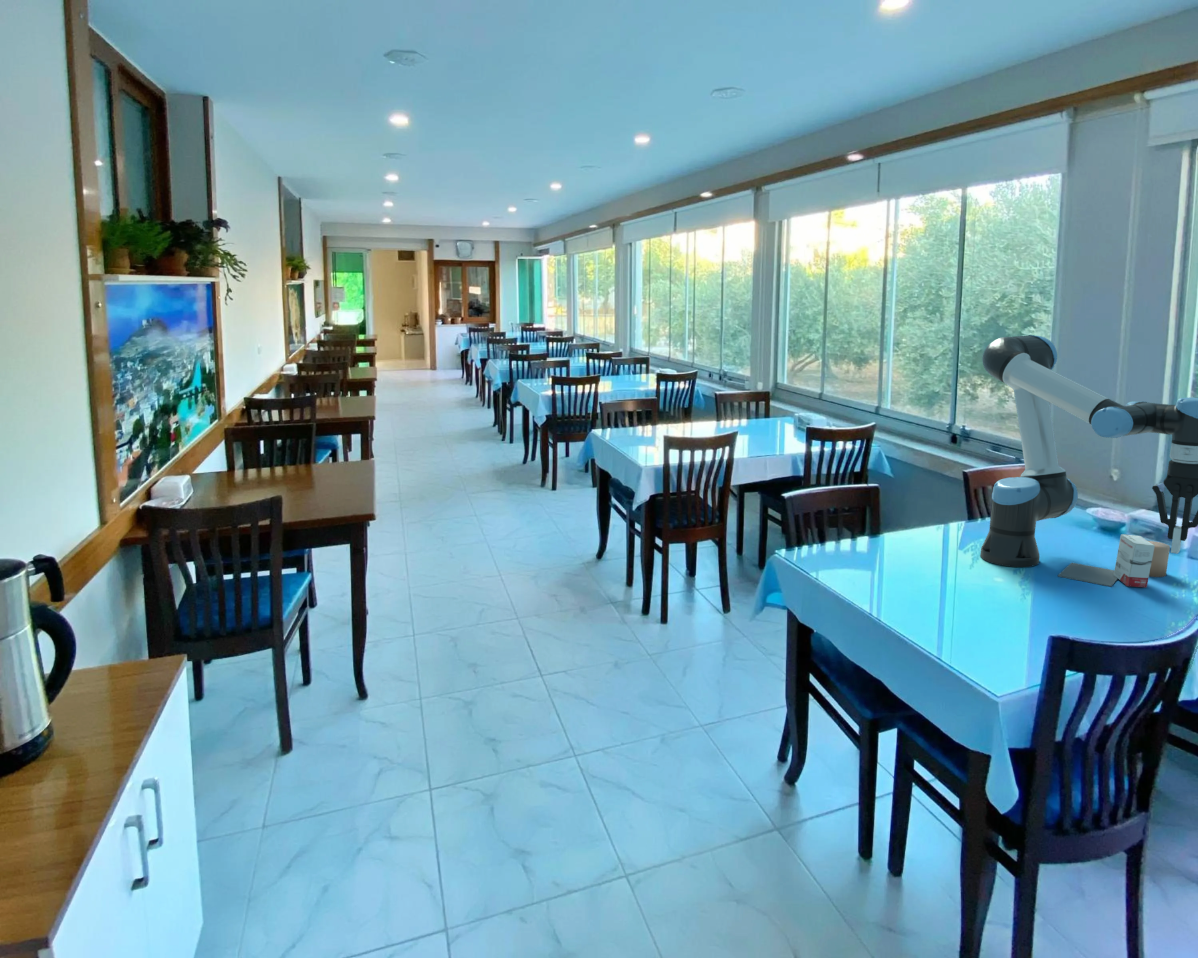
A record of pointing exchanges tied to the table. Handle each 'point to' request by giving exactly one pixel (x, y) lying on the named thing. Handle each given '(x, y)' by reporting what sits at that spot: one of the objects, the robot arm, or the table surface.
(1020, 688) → the table surface
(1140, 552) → the ink box
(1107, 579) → the slate mat
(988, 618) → the table surface
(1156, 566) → the beige domed cylinder
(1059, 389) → the robot arm
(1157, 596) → the table surface
